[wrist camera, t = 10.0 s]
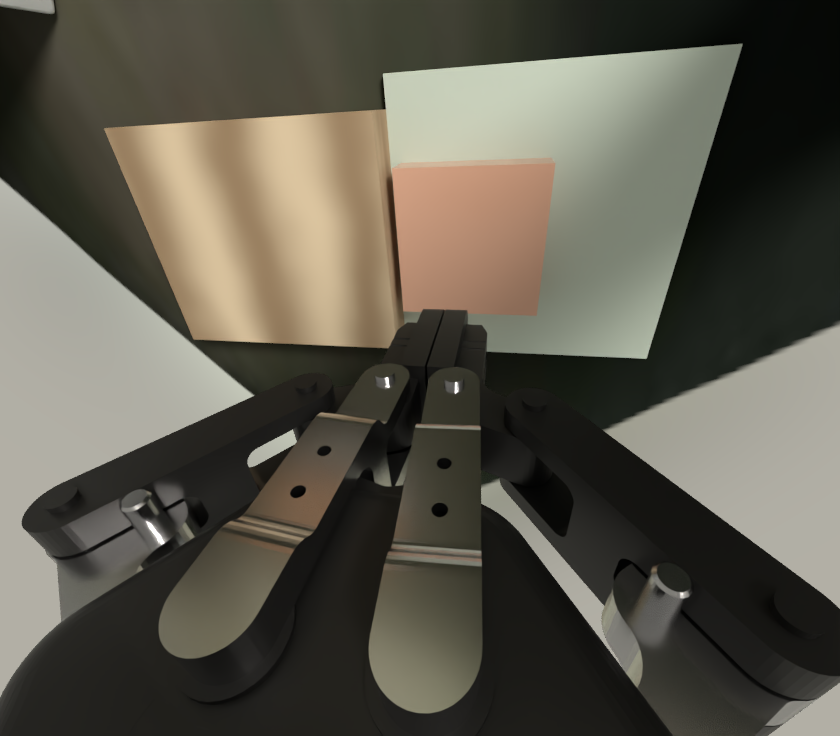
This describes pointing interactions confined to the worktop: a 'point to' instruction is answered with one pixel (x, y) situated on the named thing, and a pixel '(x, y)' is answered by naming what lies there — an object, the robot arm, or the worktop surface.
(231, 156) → the oak board
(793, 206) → the worktop surface
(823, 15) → the worktop surface
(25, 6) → the skincare box
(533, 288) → the terracotta coaster
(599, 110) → the sage mat
